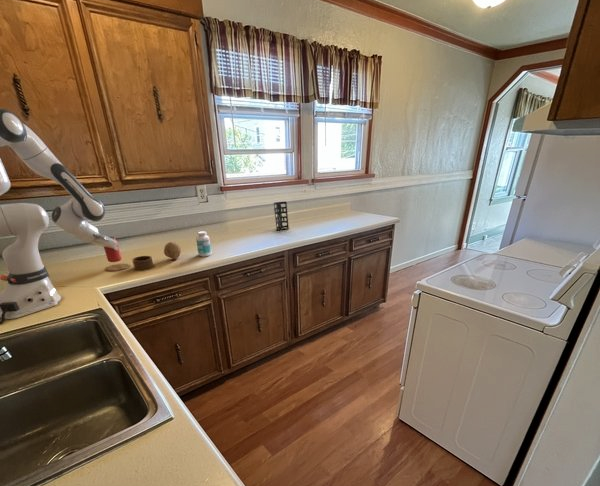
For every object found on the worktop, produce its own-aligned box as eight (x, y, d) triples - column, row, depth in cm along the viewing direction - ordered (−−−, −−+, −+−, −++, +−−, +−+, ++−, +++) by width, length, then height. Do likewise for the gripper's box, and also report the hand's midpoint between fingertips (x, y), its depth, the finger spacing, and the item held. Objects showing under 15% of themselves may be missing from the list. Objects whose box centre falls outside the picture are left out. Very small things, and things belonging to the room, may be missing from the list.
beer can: (116, 262, 169) (109, 240, 164) (105, 262, 171) (98, 239, 165) (124, 259, 175) (118, 236, 169) (113, 258, 176) (107, 236, 171)
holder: (279, 230, 247) (277, 202, 239) (273, 229, 252) (270, 202, 244) (290, 228, 253) (288, 201, 245) (284, 227, 259) (282, 201, 251)
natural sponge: (170, 263, 181) (166, 245, 176) (162, 259, 186) (159, 242, 182) (185, 259, 187) (182, 242, 182) (177, 256, 192) (174, 239, 187)
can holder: (143, 271, 169) (141, 262, 167) (130, 269, 173) (128, 259, 170) (157, 265, 177) (155, 256, 174) (144, 263, 180) (142, 255, 178)
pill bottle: (196, 255, 194) (192, 232, 187) (207, 252, 198) (204, 230, 192) (202, 257, 189) (199, 234, 183) (214, 254, 194) (210, 232, 187)
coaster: (116, 272, 168) (115, 271, 168) (101, 269, 172) (101, 268, 172) (133, 266, 177) (133, 265, 177) (119, 263, 181) (118, 262, 181)
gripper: (104, 230, 154) (127, 245, 166) (79, 225, 163) (104, 240, 175) (97, 241, 153) (122, 256, 165) (73, 236, 162) (98, 250, 174)
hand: (112, 248), depth 170 cm, fingers closed on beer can, 6 cm apart
